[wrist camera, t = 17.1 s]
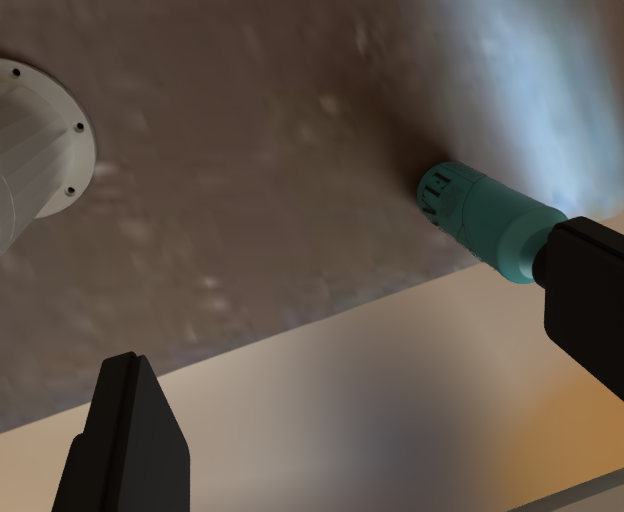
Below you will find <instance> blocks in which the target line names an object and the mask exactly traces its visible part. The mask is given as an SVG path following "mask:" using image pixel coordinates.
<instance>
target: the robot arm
mask: <svg viewBox="0 0 624 512" xmlns="http://www.w3.org/2000/svg"><path fill="white" fill-rule="evenodd" d="M15 69H18V70H19V71H20V73H21V74H20V76H18V75H16V74H15V72H14V70H15ZM78 123H82V124H83V125H84V128H83V129H81V128H79V127H78ZM96 160H97V145H96V139H95V134H94V131H93V128H92V125H91V123H90V120H89V118H88V116H87V115H86V113H85V111H84V109H83V108H82V106H81V104H80V103H79V102H78V101H77V100H76V98H75V97H74V96H73V95H72V94H71V92H70V91H68V90H67V89H66V88H65V87H64V86H63V85H62V84H60V83H59V82H58V81H57V80H56V79H54V78H52V77H51V76H49V75H48V74H46V73H45V72H43V71H41V70H39V69H37V68H35V67H32V66H30V65H28V64H25V63H23V62H18V61H14V60H10V59H6V58H0V257H1V256H2V255H3V254H4V253H5V251H6V250H7V249H8V248H9V247H10V246H11V245H12V243H13V242H14V241H15V240H16V239H17V237H18V236H19V235H20V234H21V233H22V232H23V230H24V229H25V228H26V227H27V226H28V225H29V223H30V222H31V221H32V220H33V219H36V218H42V217H46V216H49V215H52V214H55V213H57V212H60V211H61V210H63V209H65V208H66V207H68V206H70V205H71V204H72V203H73V202H74V201H75V200H76V199H77V198H79V197H80V196H81V194H82V193H83V192H84V190H85V189H86V188H87V186H88V184H89V182H90V180H91V178H92V176H93V173H94V170H95V166H96ZM69 187H72V188H74V190H75V191H70V190H69ZM544 328H545V331H546V333H547V335H548V337H549V338H550V339H551V340H552V341H553V342H554V343H556V344H557V345H558V346H559V347H560V348H561V349H563V350H564V351H565V352H566V353H567V354H568V355H570V356H571V357H572V358H573V359H574V360H575V361H577V362H578V363H579V364H580V365H582V367H584V368H585V369H586V370H587V371H588V372H590V373H591V374H592V375H593V376H594V377H595V378H597V379H598V380H599V381H600V382H601V383H602V384H604V385H605V386H606V387H607V388H608V389H609V390H611V391H612V392H613V393H614V394H615V395H617V396H618V397H619V398H620V399H621V400H623V401H624V235H623V234H620V233H618V232H616V231H614V230H612V229H610V228H608V227H606V226H603V225H601V224H599V223H597V222H595V221H593V220H591V219H588V218H586V217H583V216H580V217H576V218H572V219H569V220H566V221H562V222H559V223H557V224H555V225H554V227H553V229H552V231H551V232H550V233H549V234H548V238H547V259H546V285H545V311H544ZM51 512H190V454H189V449H188V445H187V443H186V440H185V438H184V436H183V434H182V431H181V430H180V427H179V425H178V423H177V421H176V419H175V417H174V415H173V412H172V410H171V408H170V406H169V404H168V402H167V400H166V397H165V395H164V393H163V391H162V389H161V387H160V385H159V383H158V380H157V378H156V376H155V374H154V372H153V370H152V368H151V366H150V363H149V361H148V359H147V358H146V356H145V355H141V356H138V357H137V356H136V354H135V353H134V352H132V351H131V352H127V353H124V354H121V355H117V356H114V357H111V358H107V359H105V360H103V363H102V366H101V369H100V373H99V377H98V380H97V384H96V387H95V391H94V395H93V398H92V402H91V406H90V410H89V413H88V417H87V420H86V424H85V428H84V431H83V433H81V434H78V435H77V436H76V437H75V438H74V439H73V442H72V444H71V447H70V450H69V453H68V457H67V460H66V464H65V467H64V470H63V474H62V477H61V480H60V484H59V487H58V491H57V494H56V498H55V501H54V504H53V507H52V511H51ZM506 512H624V468H622V469H619V470H616V471H613V472H611V473H608V474H605V475H603V476H600V477H597V478H594V479H592V480H589V481H586V482H584V483H581V484H578V485H576V486H573V487H570V488H568V489H565V490H563V491H560V492H557V493H554V494H551V495H549V496H546V497H544V498H541V499H538V500H535V501H533V502H530V503H527V504H525V505H522V506H519V507H517V508H514V509H511V510H509V511H506Z"/></svg>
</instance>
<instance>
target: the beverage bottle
mask: <svg viewBox="0 0 624 512" xmlns="http://www.w3.org/2000/svg"><path fill="white" fill-rule="evenodd" d="M417 201H418V204H419V205H418V206H419V207H420V209H421V211H422V213H423V214H422V215H425V216H426V217H427V218H428V219H429V220H430V222H431V221H433V222H431V223H433V224H434V225H436V226H439V227H440V228H442V229H443V230H444V232H445V231H446V232H447V233H448V234H450V235H451V236H452V237H453V238H455V239H456V242H457V241H458V242H459V243H460V244H462V245H464V246H465V248H467V249H469V251H472V252H473V253H474V254H475V255H476V256H478V257H479V258H481V259H482V261H484V262H486V263H487V264H488V265H490V266H491V267H493V268H494V269H495V270H497V271H498V272H499V273H500V274H501V275H502V276H503V277H505V278H506V279H507V280H509V281H511V282H514V283H518V284H528V283H533V282H536V283H537V284H538V285H539V286H541V287H542V288H544V289H545V285H546V259H547V238H548V234H549V233H550V232H551V231H552V229H553V227H554V225H555V224H557V223H559V222H562V221H566V220H568V218H567V217H566V216H565V214H564V213H562V212H561V211H559V210H558V209H555V208H553V207H549V206H547V205H545V204H543V203H541V202H538V201H536V200H534V199H532V198H530V197H528V196H526V195H524V194H522V193H520V192H518V191H515V190H513V189H511V188H509V187H507V186H505V185H504V184H502V183H500V182H498V181H496V180H494V179H492V178H490V177H488V176H487V175H485V174H483V173H481V172H479V171H477V170H475V169H473V168H471V167H469V166H467V165H465V164H463V163H462V164H461V162H460V163H458V162H449V161H448V162H444V163H441V164H438V165H436V166H434V167H433V168H431V169H430V170H429V171H428V172H427V173H426V174H425V175H424V176H423V178H422V179H421V181H420V183H419V186H418V190H417ZM439 227H438V228H439ZM440 228H439V229H440ZM446 232H445V234H446ZM460 244H459V245H460ZM469 251H468V252H469ZM470 253H471V252H470ZM473 253H471V254H472V255H474V254H473ZM475 255H474V256H475ZM479 258H478V259H479ZM479 260H480V259H479ZM480 261H481V260H480Z"/></svg>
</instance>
